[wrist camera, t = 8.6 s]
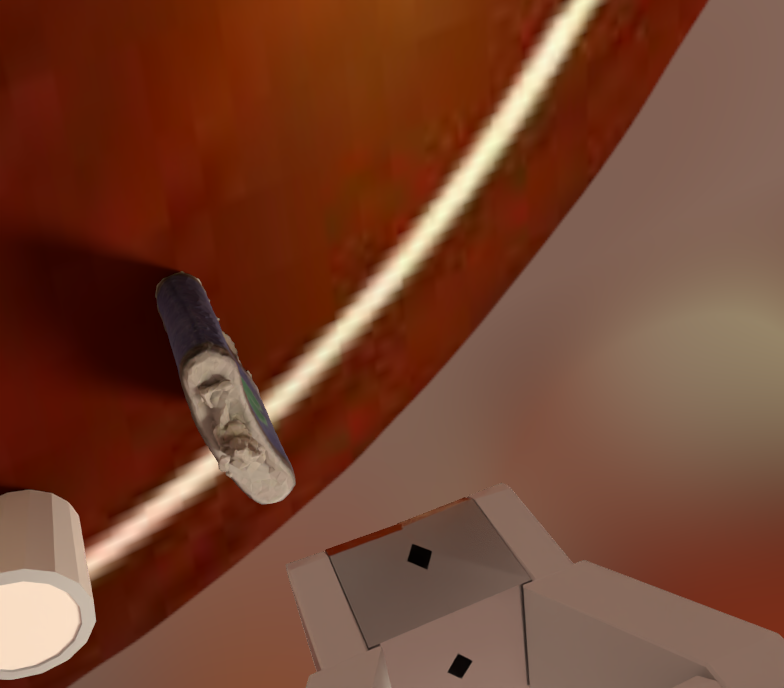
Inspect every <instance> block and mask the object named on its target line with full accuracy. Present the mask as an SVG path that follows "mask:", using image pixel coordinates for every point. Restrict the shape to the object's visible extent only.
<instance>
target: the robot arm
mask: <svg viewBox="0 0 784 688" xmlns="http://www.w3.org/2000/svg"><path fill="white" fill-rule="evenodd" d="M286 569H287V574H288V577H289V580H290V584H291V587H292V591H293V594H294V597H295V601H296V604H297V608H298V611H299V614H300V618H301V621H302V625H303V628H304V631H305V634H306V638H307V641H308V645H309V648H310V651H311V654H312V657H313V661H314V664H315V667H316V670H317V672H316V673H314V674H312V675H310V676H309V679H308V682H307V685H306V688H529V687H530V688H784V639H783V638H782V637H781V636H780V635H779V634H778V633H775V632H773V631H770V630H767V629H765V628H762V627H759V626H757V625H754V624H751V623H749V622H746V621H744V620H741V619H738V618H736V617H733V616H730V615H728V614H725V613H722V612H720V611H717V610H715V609H712V608H709V607H707V606H704V605H701V604H699V603H696V602H694V601H691V600H688V599H685V598H683V597H680V596H678V595H675V594H672V593H670V592H667V591H665V590H662V589H659V588H657V587H654V586H651V585H649V584H646V583H643V582H641V581H638V580H635V579H633V578H630V577H628V576H625V575H622V574H619V573H617V572H614V571H612V570H609V569H606V568H604V567H601V566H599V565H596V564H593V563H591V562H588V561H585V560H583V561H580V562H578V563H575V564H573V563H572V561H571V560H570V559H569V558H568V557H567V555H566V554H565V553H564V552H563V551H562V549H561V548H560V547H559V546H558V545H557V543H556V542H555V541H554V540H553V539H552V537H551V536H550V535H549V534H548V533H547V531H546V530H545V529H544V528H543V527H542V525H541V524H540V523H539V522H538V520H537V519H536V518H535V517H534V516H533V514H532V513H531V512H530V511H529V510H528V508H527V507H526V506H525V505H524V504H523V502H522V501H521V500H520V499H519V498H518V496H517V495H516V494H515V493H514V492H513V490H512V489H511V488H510V487H509V486H508V485H506V484H504V483H500V484H497V485H495V486H492V487H490V488H487V489H484V490H482V491H479V492H477V493H474V494H472V495H469V496H468V497H467V498H465V497H464V498H462V499H459V500H457V501H454V502H451V503H449V504H446V505H444V506H441V507H439V508H436V509H434V510H431V511H428V512H426V513H423V514H421V515H418V516H416V517H413V518H411V519H408V520H405V521H403V522H400V523H398V524H397V525H394V526H391V527H388V528H385V529H383V530H380V531H377V532H374V533H371V534H369V535H366V536H363V537H360V538H357V539H354V540H351V541H349V542H346V543H343V544H340V545H338V546H334V547H332V548H329V549H326V550H325V552H321V553H318V554H315V555H312V556H309V557H306V558H303V559H300V560H297V561H294V562H291V563H289V564H286Z"/></svg>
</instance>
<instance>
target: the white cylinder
mask: <svg viewBox="0 0 784 688" xmlns="http://www.w3.org/2000/svg"><path fill="white" fill-rule="evenodd" d="M95 622H96V618H95V610H94V601H93V595H92V589H91V584H90V578H89V572H88V566H87V561H86V555H85V549H84V543H83V537H82V532H81V526H80V520H79V515H78V514H77V513H76V511H75V510H74V509H73V507H72V506H71V505H70V503H69V502H67V501H66V500H64V499H62V498H60V497H58V496H56V495H54V494H53V493H49V492H42V491H36V490H23V491H16V492H9V493H5V494H3V495H1V496H0V679H7V680H13V679H17V678H22V677H27V676H31V675H36V674H40V673H43V672H45V671H47V670H49V669H51V668H53V667H55V666H57V665H59V664H61V663H63V662H65V661H67V660H69V659H70V658H71V657H72V656H73V655H74V654H75V653H76V652H77V651H78V650H79V649H80V648H81V647H82V646H83V645H84V644H85V643H86V642H87V641H88V638H89V636H90V634H91V631H92V629H93V627H94V624H95Z"/></svg>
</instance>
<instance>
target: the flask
mask: <svg viewBox="0 0 784 688" xmlns="http://www.w3.org/2000/svg"><path fill="white" fill-rule="evenodd" d="M155 297H156V298H157V307H158V312H159V313H160V316H161V318H162V320H163V323H164V329H165V330H166V332H167V333H168V337H169V341H170V345H171V348H172V351H173V354H174V358H175V361H176V365H177V368H178V373H179V377H180V381H181V385H182V388H183V391H184V394H185V397H186V400H187V403H188V406H189V408H190V411H191V414H192V418H193V420H194V422H195V424H196V426H197V428H198V430H199V432H200V434H201V436H202V438H203V440H204V441H205V443H206V445H207V446H208V447H209V449H210V451H211V452H212V454H213V455H214V457H215V458H216V460H217V462H218V465H219V469H220V471H224V472H226V475H227V476H229V477H231V479H232V480H233V481H234V482H235V483H236V484H237V486H238V487H239V488H240V489H241V490H242V491H243V492H245V493H246V494H247V496H248V497H249V498H252V499H253V500H255V501H256V502H258V503H260V504H269V503H275V502H278V501H282V500H283V499H284V498H285V497H286V496H287V495H288V494H289V493H290V492H291V490H292V489H293V487H294V486H295V484H296V483H295V475H294V472H293V468H292V466H291V463H290V462H289V460H288V457H287V456H286V454H285V452H284V450H283V448H282V446H281V444H280V442H279V439H278V436H277V434H276V433H275V430H274V428H273V425H272V423H271V421H270V419H269V416H268V413H267V411H266V409H265V407H264V404H263V402H262V400H261V398H260V395H259V390H258V388H257V386H256V385H255V383H254V382H253V380H252V376H251V374H250V372H249V371H246V370H245V369H244V368H243V367H242V365H241V363H240V361H239V360H238V356H237V353H238V352H237V350H236V349H235V347H234V344H235V343H233V342H232V341H231V339H230V337H229V336H227V334H226V335H225V333H224V332H222V331H221V328H220V325H219V322H218V321H219V318H217V317H216V316H215V314H214V312H213V310H212V307H211V305H210V300H209V299H208V298H207V295H206V291H205V290H204V288H203V287H202V285H201V282H200V280H199V279H197V278H196V277H194V276H192V275H190V274H186V273H184V272H181V273H175V274H173V275H171V276H168V277H166V278H163V279H162V280H161V282H160V283H159V284H158V285H157V289H156V295H155Z"/></svg>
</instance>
